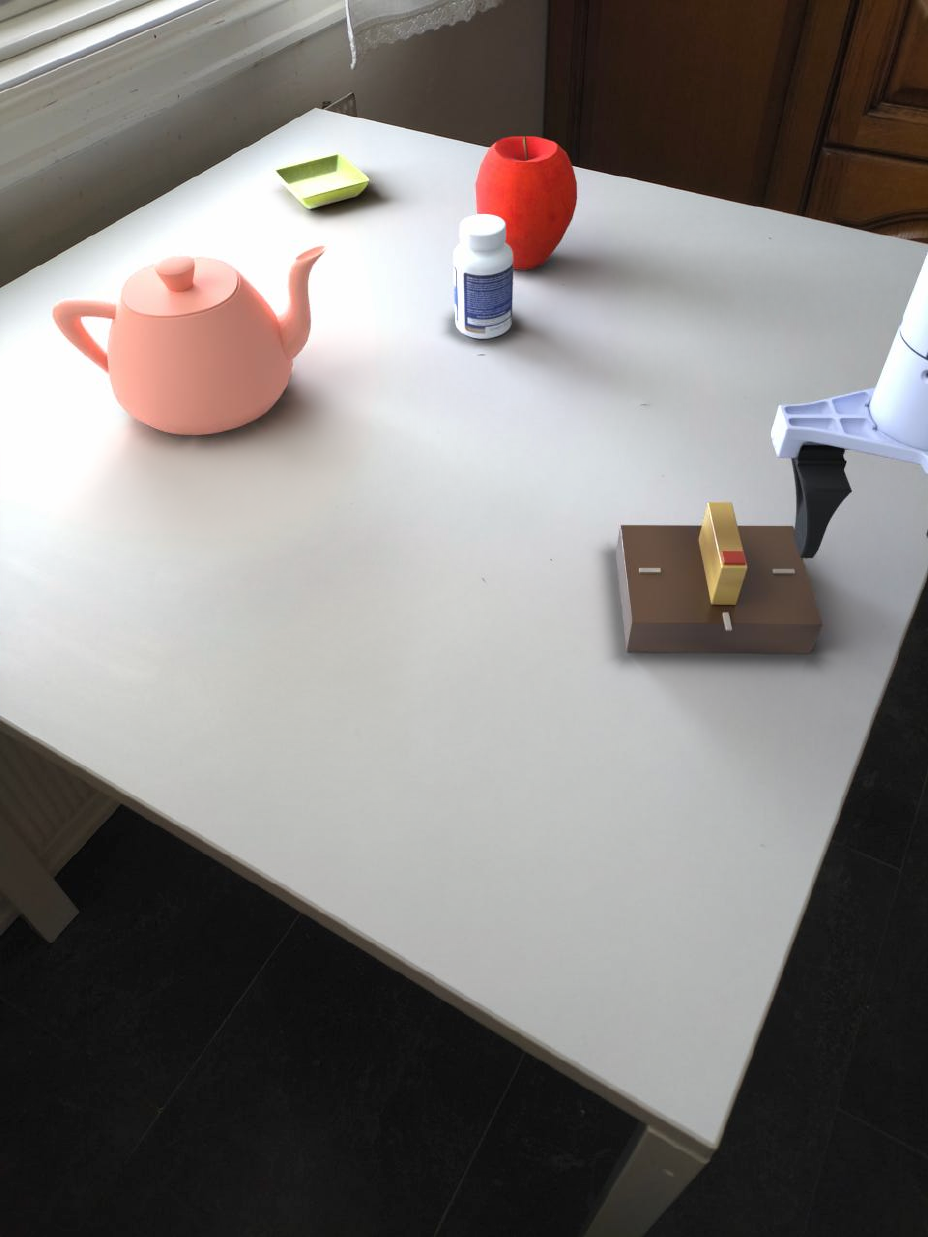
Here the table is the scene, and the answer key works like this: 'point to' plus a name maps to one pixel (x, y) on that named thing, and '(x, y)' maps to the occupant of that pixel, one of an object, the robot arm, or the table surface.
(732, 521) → the handle
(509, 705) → the table surface
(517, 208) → the apple
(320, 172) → the green square tray
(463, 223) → the pill bottle
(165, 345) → the teapot
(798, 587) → the lock plate
